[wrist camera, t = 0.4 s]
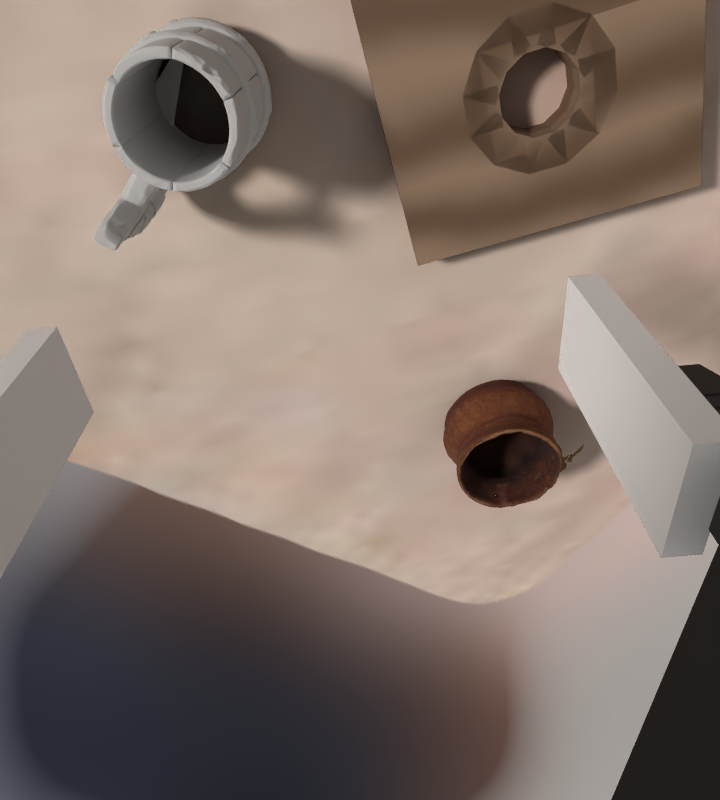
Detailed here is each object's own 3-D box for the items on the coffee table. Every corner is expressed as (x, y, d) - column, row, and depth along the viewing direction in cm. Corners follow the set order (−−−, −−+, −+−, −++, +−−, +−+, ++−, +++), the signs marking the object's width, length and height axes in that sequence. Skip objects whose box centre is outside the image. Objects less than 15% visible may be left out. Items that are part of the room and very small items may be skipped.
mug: (299, 74, 36) (282, 111, 26) (204, 233, 41) (160, 313, 31) (181, -18, 33) (112, -16, 23) (96, 165, 39) (11, 229, 29)
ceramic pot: (623, 452, 53) (656, 509, 47) (436, 519, 58) (445, 578, 52) (564, 280, 44) (595, 324, 39) (348, 375, 49) (347, 427, 43)
